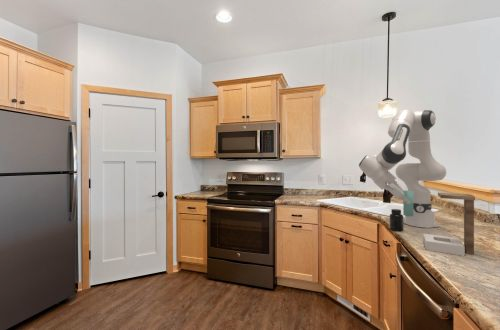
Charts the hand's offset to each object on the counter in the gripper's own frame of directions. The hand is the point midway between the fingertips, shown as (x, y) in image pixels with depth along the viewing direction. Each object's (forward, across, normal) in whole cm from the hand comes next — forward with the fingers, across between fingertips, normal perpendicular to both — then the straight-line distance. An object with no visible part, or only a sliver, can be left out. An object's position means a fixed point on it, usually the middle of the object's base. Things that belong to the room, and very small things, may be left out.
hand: (409, 202), depth 112 cm
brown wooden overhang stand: (+26, 0, +2) cm, 26 cm away
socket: (+23, 0, +5) cm, 23 cm away
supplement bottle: (+10, +23, +18) cm, 31 cm away
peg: (+4, 0, +5) cm, 6 cm away
